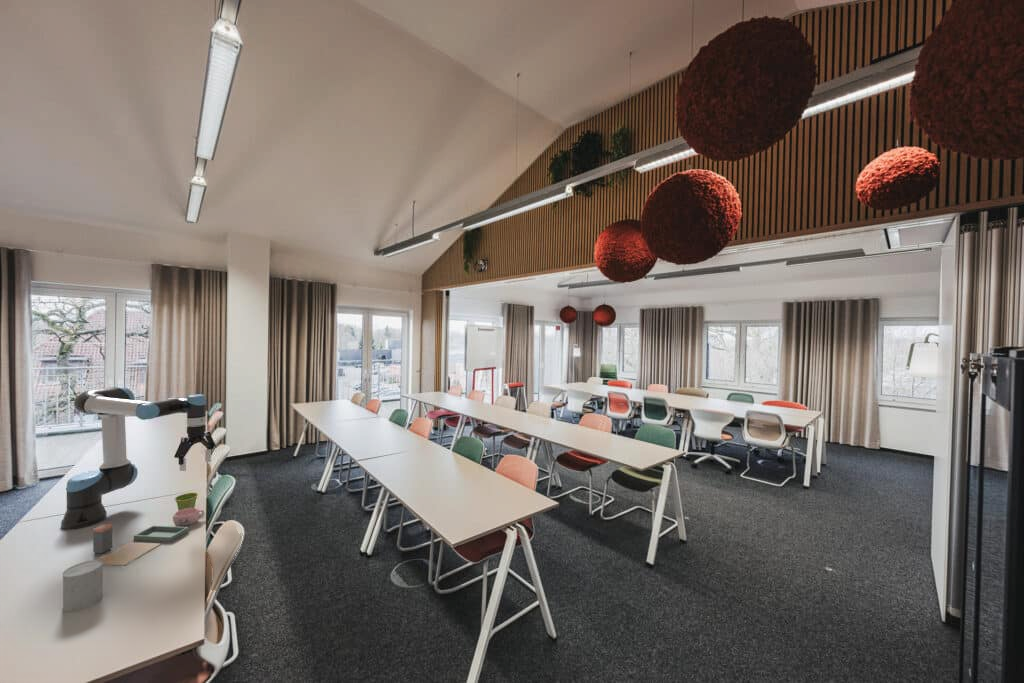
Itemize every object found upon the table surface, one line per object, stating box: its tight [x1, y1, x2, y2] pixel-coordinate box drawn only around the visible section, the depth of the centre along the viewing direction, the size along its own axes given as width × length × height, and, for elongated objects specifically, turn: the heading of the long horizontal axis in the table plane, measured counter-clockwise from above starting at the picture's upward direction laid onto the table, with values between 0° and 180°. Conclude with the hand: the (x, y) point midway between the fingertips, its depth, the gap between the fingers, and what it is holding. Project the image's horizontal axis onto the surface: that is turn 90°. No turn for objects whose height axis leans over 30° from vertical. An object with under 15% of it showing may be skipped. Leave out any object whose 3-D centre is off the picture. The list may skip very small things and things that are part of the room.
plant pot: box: [174, 492, 199, 512], centre depth 202 cm, size 9×9×9 cm
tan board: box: [97, 541, 162, 567], centre depth 165 cm, size 14×16×1 cm
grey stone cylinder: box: [62, 559, 104, 613], centre depth 136 cm, size 10×10×12 cm
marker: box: [92, 523, 114, 556], centre depth 165 cm, size 4×4×11 cm
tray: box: [133, 525, 189, 544], centre depth 179 cm, size 17×9×2 cm, turn 89°
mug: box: [172, 507, 205, 527], centre depth 192 cm, size 12×10×6 cm
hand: (195, 465), depth 198 cm, fingers open, 13 cm apart
